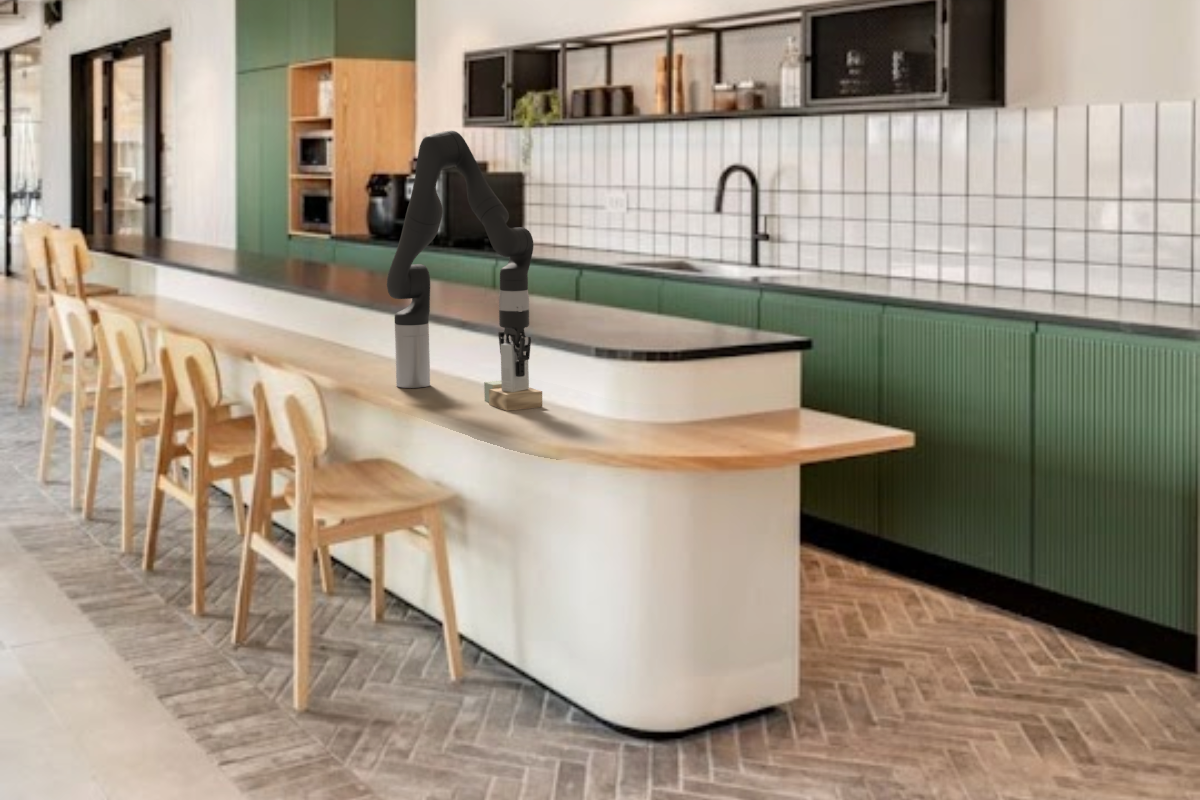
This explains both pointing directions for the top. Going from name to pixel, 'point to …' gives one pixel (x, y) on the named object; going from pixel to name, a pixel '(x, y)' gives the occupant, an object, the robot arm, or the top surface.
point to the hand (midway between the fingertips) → (514, 374)
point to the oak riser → (515, 399)
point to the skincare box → (512, 371)
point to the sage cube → (491, 386)
